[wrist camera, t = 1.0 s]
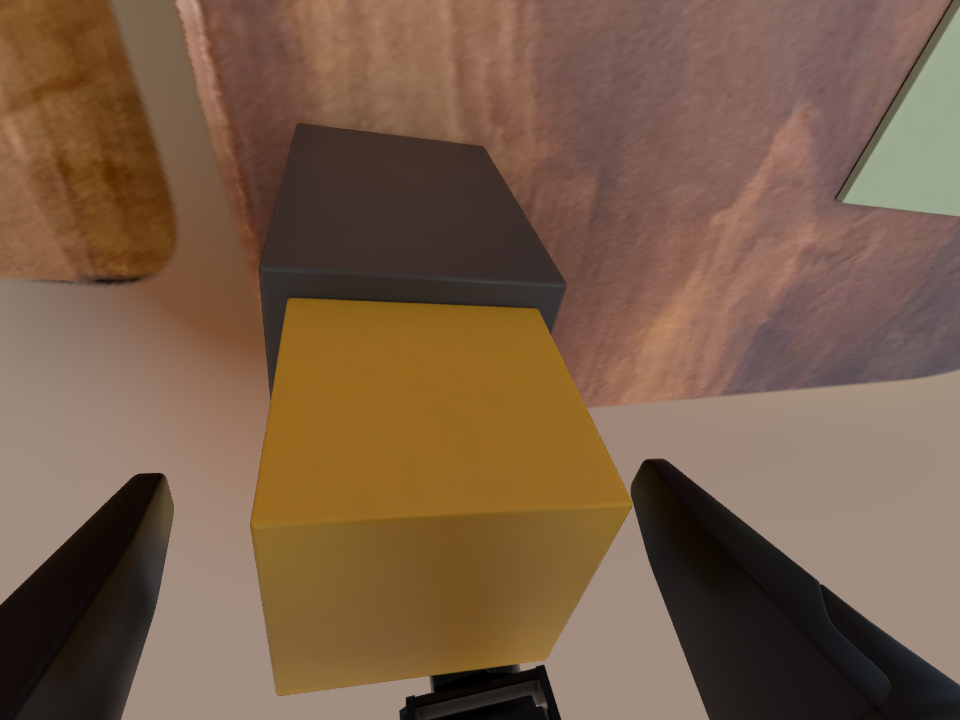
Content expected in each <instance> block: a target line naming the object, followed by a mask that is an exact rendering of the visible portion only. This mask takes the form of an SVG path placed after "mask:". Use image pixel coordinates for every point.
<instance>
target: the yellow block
mask: <svg viewBox="0 0 960 720" xmlns="http://www.w3.org/2000/svg"><path fill="white" fill-rule="evenodd" d="M631 508H632V500H631V498H630V496H629V494H628V492H627V490H626V488H625V486H624V484H623V482H622V480H621V478H620V476H619V474H618V472H617V469H616V467H615V465H614V463H613V461H612V459H611V457H610V455H609V453H608V451H607V449H606V447H605V445H604V443H603V441H602V439H601V437H600V435H599V433H598V431H597V429H596V427H595V425H594V422H593V420H592V418H591V416H590V414H589V412H588V410H587V408H586V406H585V404H584V402H583V400H582V398H581V396H580V394H579V392H578V390H577V388H576V386H575V384H574V381H573V379H572V377H571V375H570V373H569V371H568V369H567V367H566V365H565V363H564V361H563V359H562V357H561V355H560V353H559V351H558V349H557V347H556V345H555V343H554V341H553V339H552V336H551V334H550V332H549V330H548V328H547V326H546V324H545V322H544V320H543V318H542V316H541V314H540V312H539V310H538V309H536V308H518V307H495V306H472V305H450V304H427V303H404V302H381V301H358V300H336V299H313V298H289V299H288V301H287V305H286V312H285V318H284V324H283V330H282V336H281V342H280V348H279V354H278V360H277V366H276V372H275V378H274V384H273V390H272V396H271V402H270V408H269V414H268V420H267V426H266V432H265V439H264V444H263V450H262V457H261V462H260V469H259V474H258V480H257V486H256V492H255V498H254V504H253V510H252V516H251V522H250V528H251V535H252V541H253V548H254V554H255V561H256V567H257V574H258V580H259V586H260V592H261V599H262V606H263V612H264V619H265V625H266V632H267V638H268V645H269V651H270V657H271V664H272V670H273V676H274V683H275V689H276V694H277V695H278V696H284V695H291V694H298V693H306V692H314V691H321V690H328V689H336V688H343V687H350V686H357V685H365V684H372V683H379V682H387V681H395V680H402V679H410V678H417V677H424V676H432V675H439V674H447V673H454V672H462V671H469V670H476V669H484V668H491V667H499V666H506V665H513V664H521V663H528V662H536V661H543V660H546V659H547V658H548V656H549V654H550V652H551V650H552V649H553V647H554V645H555V643H556V642H557V640H558V638H559V636H560V634H561V633H562V631H563V629H564V627H565V625H566V624H567V622H568V620H569V618H570V617H571V615H572V613H573V611H574V609H575V607H576V606H577V604H578V602H579V600H580V599H581V597H582V595H583V593H584V592H585V589H586V588H587V586H588V584H589V582H590V581H591V579H592V577H593V575H594V574H595V572H596V570H597V568H598V566H599V565H600V563H601V561H602V559H603V558H604V556H605V554H606V552H607V550H608V549H609V547H610V545H611V543H612V541H613V540H614V538H615V536H616V534H617V532H618V531H619V529H620V527H621V525H622V524H623V522H624V520H625V518H626V516H627V515H628V513H629V511H630V509H631Z"/></svg>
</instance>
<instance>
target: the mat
mask: <svg viewBox="0 0 960 720" xmlns="http://www.w3.org/2000/svg"><path fill="white" fill-rule="evenodd" d="M836 199H837V200H838V201H840V202H842V203H848V204H857V205H865V206H874V207H883V208H891V209H900V210H908V211H917V212H925V213H934V214H943V215H951V216H960V0H953V2H952V4H951V5H950V7H949V9H948V10H947V12H946V14H945V15H944V17H943V19H942V21H941V22H940V24H939V26H938V27H937V29H936V31H935V32H934V34H933V36H932V37H931V39H930V41H929V43H928V44H927V46H926V48H925V49H924V51H923V53H922V54H921V56H920V58H919V59H918V61H917V63H916V65H915V66H914V68H913V70H912V71H911V73H910V75H909V76H908V78H907V80H906V82H905V83H904V85H903V87H902V88H901V90H900V92H899V93H898V95H897V97H896V98H895V100H894V102H893V104H892V105H891V107H890V109H889V110H888V112H887V114H886V115H885V117H884V119H883V120H882V122H881V124H880V126H879V127H878V129H877V131H876V132H875V134H874V136H873V137H872V139H871V141H870V142H869V144H868V146H867V148H866V149H865V151H864V153H863V154H862V156H861V158H860V159H859V161H858V163H857V164H856V166H855V168H854V170H853V171H852V173H851V175H850V176H849V178H848V180H847V181H846V183H845V185H844V186H843V188H842V190H841V192H840V193H839V195H838V197H837V198H836Z"/></svg>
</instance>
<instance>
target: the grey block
mask: <svg viewBox="0 0 960 720" xmlns="http://www.w3.org/2000/svg"><path fill="white" fill-rule="evenodd" d="M259 279H260V290H261V301H262V312H263V323H264V334H265V345H266V356H267V367H268V378H269V388H270V400H271V396H272V390H273V384H274V378H275V372H276V366H277V360H278V354H279V348H280V342H281V336H282V330H283V324H284V318H285V312H286V305H287V301H288V299H289V298H313V299H336V300H358V301H381V302H404V303H427V304H450V305H472V306H495V307H518V308H536V309H538V310H539V312H540V314H541V316H542V318H543V320H544V322H545V324H546V326H547V328H548V330H549V332H550V334H551V335H552V332H553V328H554V325H555V322H556V319H557V316H558V312H559V309H560V306H561V303H562V300H563V296H564V293H565V290H566V282H565V280H564V279H563V277H562V275H561V274H560V272H559V270H558V269H557V267H556V265H555V264H554V262H553V260H552V259H551V257H550V256H549V254H548V252H547V251H546V249H545V247H544V246H543V244H542V242H541V241H540V239H539V237H538V236H537V234H536V232H535V231H534V229H533V227H532V226H531V224H530V222H529V221H528V219H527V217H526V216H525V214H524V212H523V211H522V209H521V207H520V206H519V204H518V202H517V201H516V199H515V197H514V196H513V194H512V192H511V191H510V189H509V188H508V186H507V184H506V183H505V181H504V179H503V178H502V176H501V174H500V173H499V171H498V169H497V168H496V166H495V164H494V163H493V161H492V159H491V158H490V156H489V154H488V153H487V151H486V149H485V148H484V147H482V146H474V145H466V144H458V143H450V142H442V141H434V140H426V139H418V138H410V137H402V136H394V135H386V134H378V133H370V132H362V131H354V130H346V129H338V128H329V127H321V126H313V125H305V124H297V126H296V129H295V133H294V137H293V140H292V144H291V148H290V152H289V155H288V159H287V163H286V167H285V171H284V174H283V178H282V182H281V186H280V189H279V193H278V197H277V201H276V204H275V208H274V212H273V216H272V219H271V223H270V227H269V231H268V234H267V238H266V242H265V246H264V250H263V253H262V257H261V261H260V265H259Z"/></svg>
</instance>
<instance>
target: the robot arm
mask: <svg viewBox="0 0 960 720" xmlns="http://www.w3.org/2000/svg"><path fill="white" fill-rule="evenodd" d="M631 497H632V500H633V504H634V508H635V512H636V515H637V519H638V523H639V526H640V530H641V533H642V537H643V541H644V545H645V549H646V552H647V555H648V559H649V562H650V565H651V567H652V571H653V573H654V576H655V579H656V581H657V584H658V586H659V589H660V592H661V594H662V597H663V599H664V602H665V605H666V607H667V610H668V612H669V615H670V618H671V620H672V623H673V626H674V628H675V631H676V633H677V636H678V639H679V641H680V644H681V646H682V649H683V651H684V654H685V657H686V659H687V662H688V665H689V667H690V670H691V672H692V675H693V678H694V680H695V683H696V686H697V688H698V691H699V693H700V696H701V698H702V701H703V704H704V706H705V709H706V712H707V714H708V717H709V720H960V685H959V684H957V683H956V682H954V681H953V680H952V679H950V678H949V677H947V676H946V675H945V674H943V673H942V672H940V671H939V670H937V669H936V668H935V667H933V666H931V665H930V664H929V663H928V662H926V661H925V660H923V659H922V658H920V657H919V656H918V655H916V654H915V653H913V652H912V651H911V650H909V649H908V648H906V647H905V646H903V645H902V644H901V643H899V642H898V641H896V640H895V639H893V638H892V637H891V636H889V635H888V634H887V633H885V632H884V631H883V630H881V629H880V628H879V627H877V626H876V625H874V624H873V623H872V622H870V621H869V620H867V619H866V618H865V617H864V616H862V615H861V614H860V613H858V612H857V611H856V610H854V609H853V608H852V607H851V606H849V605H848V604H847V603H846V602H844V601H843V600H842V599H840V598H839V597H838V596H837V595H835V594H834V593H833V592H831V591H830V590H829V589H828V588H827V587H825V586H824V585H820V583H819V581H817V580H816V579H815V578H814V577H813V576H811V575H810V574H809V573H808V572H806V571H805V570H804V569H803V568H801V567H800V566H799V565H797V564H796V563H795V562H794V561H792V560H791V559H790V558H789V557H787V556H786V555H785V554H784V553H782V552H781V551H780V550H779V549H777V548H776V547H775V546H774V545H772V544H771V543H770V542H769V541H767V540H766V539H765V538H764V537H762V536H761V535H760V534H758V533H757V532H756V531H755V530H753V529H752V528H751V527H750V526H748V525H747V524H746V523H745V522H743V521H742V520H741V519H740V518H738V517H737V516H736V515H735V514H733V513H732V512H731V511H730V510H728V509H727V508H726V507H725V506H723V505H722V504H721V503H720V502H718V501H717V500H716V499H715V498H713V497H712V496H711V495H709V494H708V493H707V492H706V491H704V490H703V489H702V488H701V487H699V486H698V485H697V484H696V483H694V482H693V481H692V480H691V479H689V478H688V477H687V476H685V475H684V474H683V473H682V472H681V471H679V470H678V469H677V468H676V467H674V466H673V465H672V464H671V463H669V462H668V461H666V460H664V459H646V460H645V461H643V463H642V464H641V466H640V468H639V470H638V472H637V474H636V476H635V478H634V480H633V482H632V484H631ZM173 513H174V505H173V501H172V497H171V493H170V489H169V486H168V482H167V479H166V477H165V475H164V474H161V473H147V474H145V473H144V474H137V475H135V476H134V477H132V478H131V479H130V480H129V481H128V482H127V483H126V484H125V485H124V486H123V487H122V488H121V489H120V490H119V491H118V492H117V493H116V494H115V495H113V496H112V497H111V498H110V499H109V500H108V501H107V502H106V503H105V504H104V505H103V506H102V507H101V508H100V509H99V510H98V511H97V512H96V513H95V514H94V515H93V516H92V517H91V518H90V519H89V520H88V521H87V522H86V523H85V524H84V525H83V526H81V528H79V529H78V530H77V531H76V532H75V533H74V535H72V536H71V537H70V538H69V539H68V540H67V541H66V542H65V543H64V544H63V545H62V546H61V547H60V548H59V549H58V550H57V551H56V552H55V553H54V554H53V555H52V556H51V557H49V558H48V559H47V560H46V561H45V562H44V563H43V564H42V565H41V566H40V567H39V568H38V569H37V570H36V571H35V572H34V573H33V574H32V575H31V576H30V577H29V578H28V579H27V580H26V581H25V582H24V583H23V584H22V585H21V586H20V587H19V588H18V589H16V590H15V591H14V593H12V594H11V595H10V596H9V597H8V598H7V599H6V600H5V601H4V602H3V603H2V604H1V605H0V720H121V717H122V714H123V711H124V708H125V705H126V701H127V698H128V695H129V692H130V689H131V685H132V682H133V679H134V676H135V673H136V670H137V666H138V663H139V660H140V657H141V654H142V650H143V647H144V644H145V641H146V638H147V634H148V631H149V628H150V625H151V622H152V619H153V615H154V612H155V608H156V604H157V600H158V595H159V590H160V585H161V579H162V574H163V569H164V563H165V558H166V553H167V547H168V542H169V537H170V531H171V526H172V521H173ZM430 685H431V693H429V694H425V695H421V696H417V697H415V695H413V696H409V697H406V706H405V707H404V708H403V709H401V710H400V711H399V712H400V720H561V717H560V715H559V712H558V708H557V705H556V701H555V698H554V695H553V692H552V689H551V686H550V682H549V679H548V676H547V672H546V669H545V666H544V665H540V666H536V668H534V669H530V670H526V671H522V672H521V670H520V666H519V664H513V665H506V666H499V667H491V668H484V669H476V670H469V671H462V672H454V673H447V674H439V675H432V676H430ZM536 705H538V706H537V707H536Z"/></svg>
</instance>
